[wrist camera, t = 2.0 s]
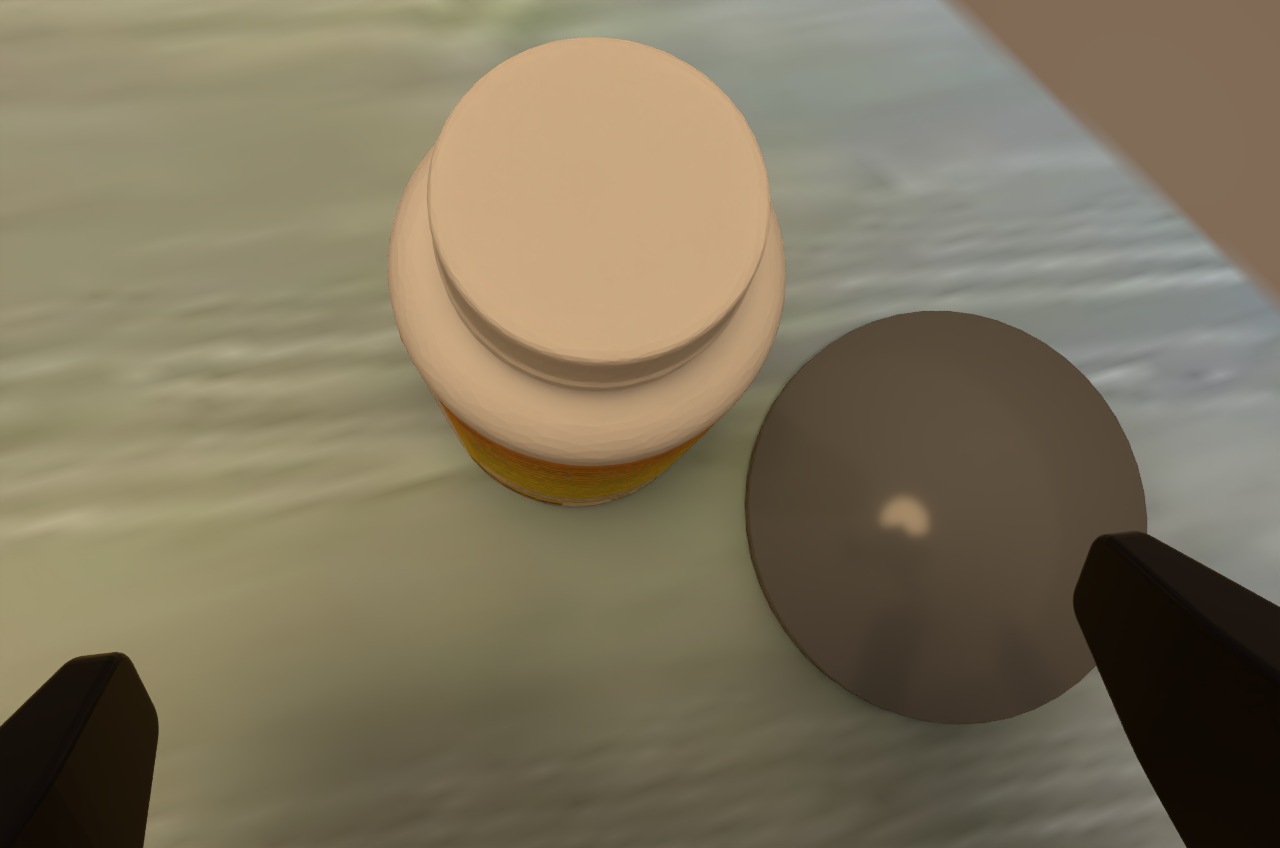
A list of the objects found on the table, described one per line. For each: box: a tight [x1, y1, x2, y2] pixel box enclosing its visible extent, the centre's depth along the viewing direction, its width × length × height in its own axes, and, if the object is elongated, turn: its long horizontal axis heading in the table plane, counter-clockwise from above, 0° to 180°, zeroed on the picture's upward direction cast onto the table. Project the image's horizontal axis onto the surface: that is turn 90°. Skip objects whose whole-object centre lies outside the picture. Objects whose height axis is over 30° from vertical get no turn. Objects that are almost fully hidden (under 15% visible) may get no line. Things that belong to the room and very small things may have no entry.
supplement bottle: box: [388, 37, 786, 506], centre depth 16 cm, size 6×6×10 cm
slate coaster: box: [745, 311, 1147, 724], centre depth 21 cm, size 9×9×1 cm
